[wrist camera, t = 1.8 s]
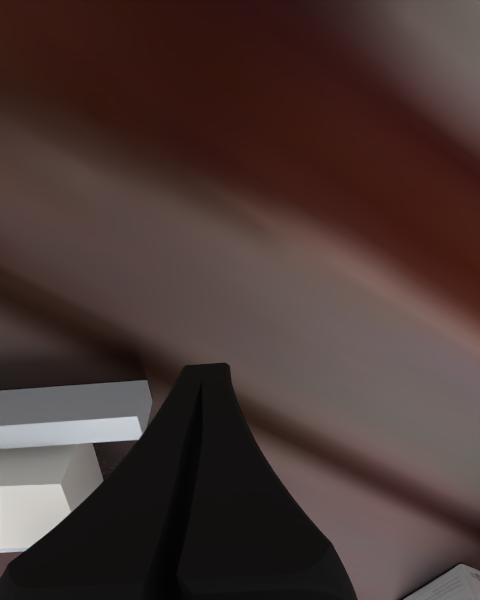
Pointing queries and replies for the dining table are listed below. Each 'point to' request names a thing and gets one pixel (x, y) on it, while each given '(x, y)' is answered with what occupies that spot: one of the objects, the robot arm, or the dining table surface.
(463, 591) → the supplement box
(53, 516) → the white block
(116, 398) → the dock
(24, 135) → the dining table surface
